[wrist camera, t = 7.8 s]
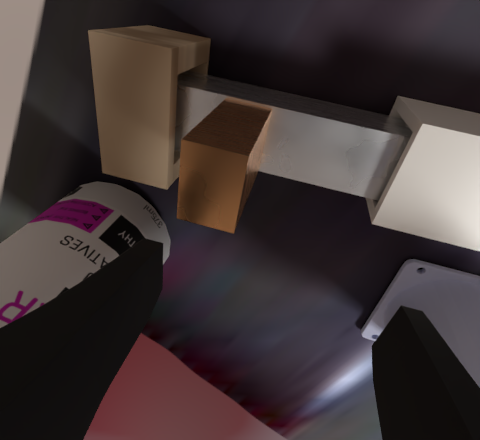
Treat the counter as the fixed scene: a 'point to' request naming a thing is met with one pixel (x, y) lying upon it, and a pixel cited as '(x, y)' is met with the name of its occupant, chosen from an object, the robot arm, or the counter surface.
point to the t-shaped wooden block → (273, 145)
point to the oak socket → (141, 98)
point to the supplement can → (72, 244)
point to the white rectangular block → (434, 176)
